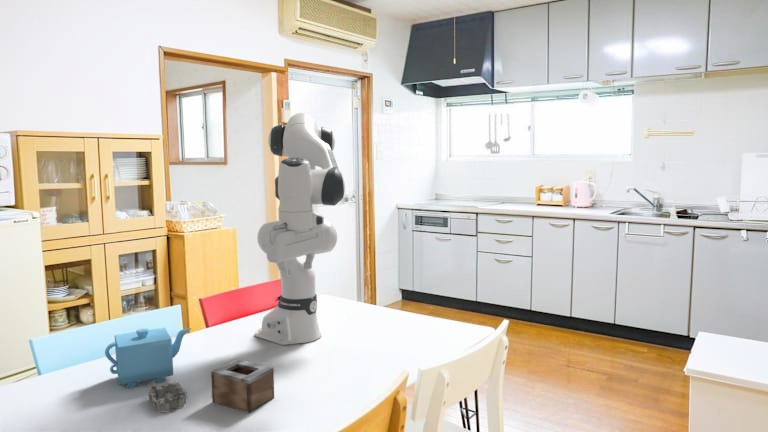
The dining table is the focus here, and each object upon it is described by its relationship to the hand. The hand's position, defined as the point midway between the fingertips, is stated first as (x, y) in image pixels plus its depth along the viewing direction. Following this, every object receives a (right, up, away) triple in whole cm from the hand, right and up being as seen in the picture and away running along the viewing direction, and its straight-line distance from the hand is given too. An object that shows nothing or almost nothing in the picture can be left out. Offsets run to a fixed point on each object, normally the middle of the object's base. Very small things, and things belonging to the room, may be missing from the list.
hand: (297, 272), depth 146 cm
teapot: (-41, -30, +6) cm, 51 cm away
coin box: (-12, -31, -8) cm, 34 cm away
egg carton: (-31, -32, -9) cm, 45 cm away
